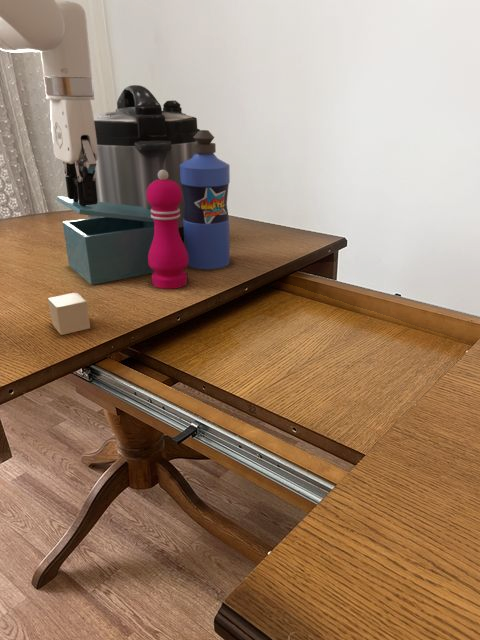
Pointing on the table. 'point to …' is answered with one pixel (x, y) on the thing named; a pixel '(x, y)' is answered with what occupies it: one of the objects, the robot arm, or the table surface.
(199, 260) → the water bottle
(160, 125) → the pressure cooker
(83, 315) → the block
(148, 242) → the bin
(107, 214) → the bin lid
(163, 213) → the pepper mill
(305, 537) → the table surface
